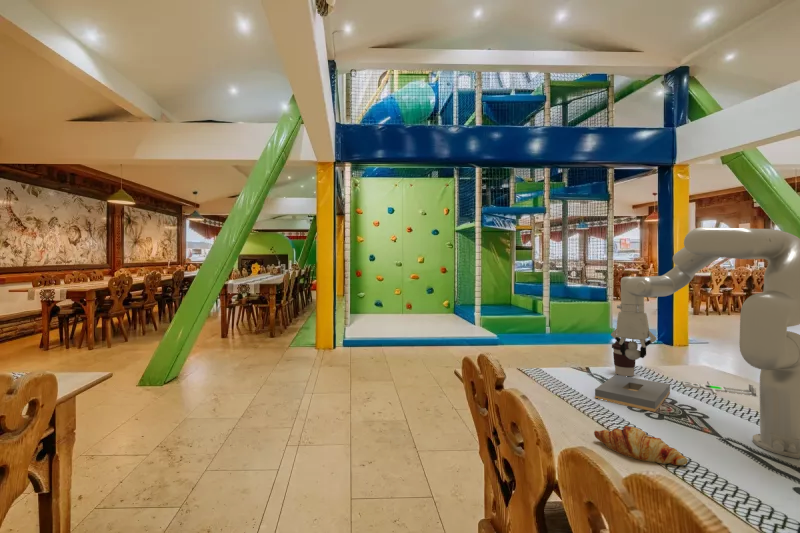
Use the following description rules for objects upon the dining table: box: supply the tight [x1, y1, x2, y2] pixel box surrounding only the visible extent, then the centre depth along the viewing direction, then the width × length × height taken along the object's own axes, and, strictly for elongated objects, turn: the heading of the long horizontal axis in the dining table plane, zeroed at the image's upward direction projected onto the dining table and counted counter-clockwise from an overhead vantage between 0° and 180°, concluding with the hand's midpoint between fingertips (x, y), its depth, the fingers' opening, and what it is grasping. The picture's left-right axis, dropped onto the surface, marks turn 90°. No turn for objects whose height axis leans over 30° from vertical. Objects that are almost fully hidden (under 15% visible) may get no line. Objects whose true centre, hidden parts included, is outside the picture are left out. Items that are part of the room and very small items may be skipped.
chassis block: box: [594, 374, 671, 413], centre depth 142 cm, size 26×19×4 cm
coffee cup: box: [611, 340, 636, 377], centre depth 170 cm, size 10×10×15 cm
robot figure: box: [681, 381, 757, 397], centre depth 149 cm, size 16×3×22 cm
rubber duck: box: [625, 339, 641, 361], centre depth 142 cm, size 5×7×8 cm
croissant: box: [593, 425, 688, 466], centre depth 99 cm, size 21×10×8 cm, turn 48°
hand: (633, 355), depth 142 cm, fingers closed on rubber duck, 5 cm apart
